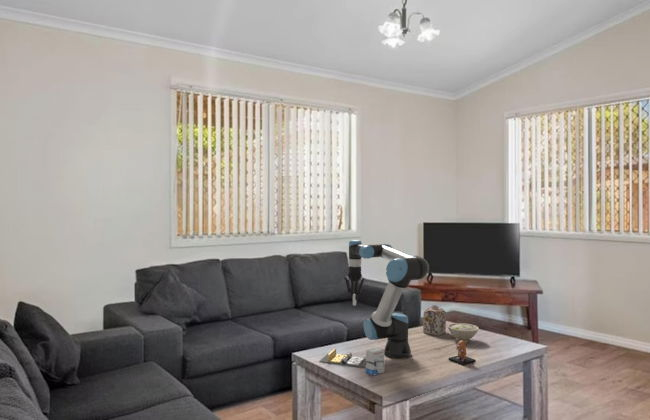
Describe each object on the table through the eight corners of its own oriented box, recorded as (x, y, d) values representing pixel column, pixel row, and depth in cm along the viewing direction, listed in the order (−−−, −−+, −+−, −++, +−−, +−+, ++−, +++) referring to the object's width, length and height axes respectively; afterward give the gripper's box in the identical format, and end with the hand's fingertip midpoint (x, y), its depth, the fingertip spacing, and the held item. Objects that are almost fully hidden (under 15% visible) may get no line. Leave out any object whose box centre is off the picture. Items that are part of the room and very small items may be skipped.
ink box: (372, 375, 241) (372, 352, 241) (365, 373, 245) (365, 349, 245) (384, 372, 246) (384, 349, 246) (377, 369, 250) (377, 346, 250)
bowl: (442, 342, 301) (442, 326, 300) (452, 335, 317) (452, 319, 317) (474, 347, 290) (474, 330, 290) (482, 339, 307) (482, 324, 307)
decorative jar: (429, 329, 330) (430, 303, 330) (446, 332, 324) (446, 305, 323) (422, 333, 321) (422, 306, 320) (439, 336, 314) (439, 308, 314)
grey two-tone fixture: (370, 359, 266) (370, 359, 266) (364, 367, 252) (364, 367, 252) (327, 354, 274) (327, 353, 274) (319, 362, 261) (319, 361, 261)
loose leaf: (351, 357, 268) (351, 350, 268) (345, 364, 256) (345, 356, 256) (334, 355, 271) (334, 348, 271) (327, 362, 260) (327, 354, 260)
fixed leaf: (364, 358, 266) (364, 353, 266) (358, 366, 253) (358, 360, 253) (347, 356, 269) (347, 351, 269) (340, 364, 257) (340, 358, 257)
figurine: (448, 360, 266) (449, 338, 266) (461, 357, 272) (461, 336, 271) (463, 365, 258) (463, 343, 257) (475, 362, 263) (476, 340, 263)
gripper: (367, 265, 293) (366, 304, 293) (346, 264, 297) (346, 302, 297) (363, 267, 286) (363, 307, 286) (342, 266, 290) (342, 305, 290)
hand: (354, 304), depth 292 cm, fingers closed
